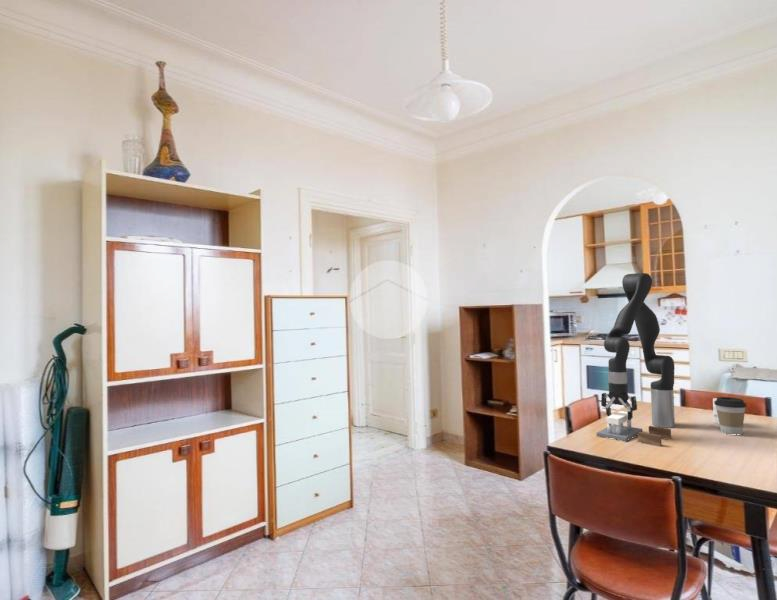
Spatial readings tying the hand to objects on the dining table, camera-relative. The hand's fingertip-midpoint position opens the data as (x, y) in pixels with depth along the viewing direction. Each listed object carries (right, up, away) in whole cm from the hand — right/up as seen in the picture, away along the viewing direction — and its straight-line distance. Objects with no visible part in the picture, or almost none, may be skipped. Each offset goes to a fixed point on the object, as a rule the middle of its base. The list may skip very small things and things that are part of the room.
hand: (619, 418), depth 195 cm
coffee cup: (+48, -6, -3) cm, 49 cm away
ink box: (+56, -6, +11) cm, 57 cm away
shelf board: (0, -1, 0) cm, 1 cm away
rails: (+10, -7, -11) cm, 16 cm away
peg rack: (0, -7, 0) cm, 7 cm away
